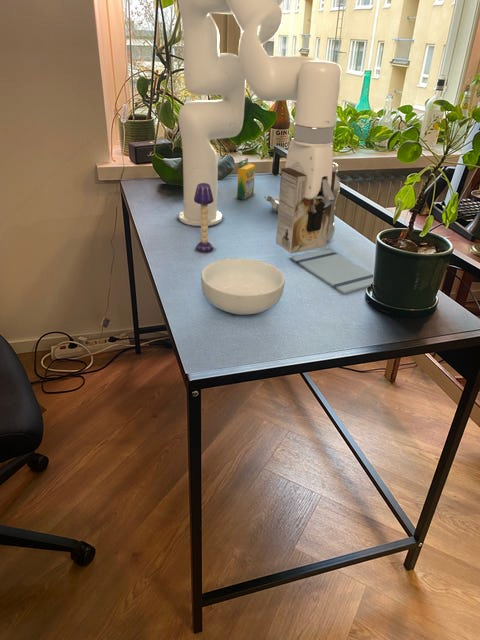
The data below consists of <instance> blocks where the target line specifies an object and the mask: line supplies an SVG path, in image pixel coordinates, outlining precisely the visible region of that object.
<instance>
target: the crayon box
mask: <svg viewBox="0 0 480 640" xmlns="http://www.w3.org/2000/svg"><path fill="white" fill-rule="evenodd" d="M244 162H245V163H244ZM255 177H256V164H253V163H249V157H246V158H244V159H243V160H240V161H238V171H237V187H236V188H237V189H236V199H239V200H246V199H248V198H249V197H251V196H252V195H254V189H255V179H256V178H255Z"/></svg>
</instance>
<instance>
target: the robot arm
mask: <svg viewBox="0 0 480 640" xmlns="http://www.w3.org/2000/svg"><path fill="white" fill-rule="evenodd" d="M284 1H285V0H177V2H178V9H179V15H180V19H181V23H182V29H183V79H184V80H183V81H184V86H185V89H186V90H187V92H188V93H190V94H191V95H195V96H220V97H221V98H220V99H213V100H212V99H208V100H207V99H206V100H193V101H188V102H186V103H184V104H183V105H182V106H181V107H180V108H179V111H178V115H177V121H178V127H179V133H180V139H181V146H182V147H181V148H182V181H183V182H182V183H183V185H182V187H183V199H182V204H183V210H181V211H180V212H179V213H178V220H179V221H180V222H181V223H183V224H184V225H185V224H186V225H188V226H193V227H201V220H202V219H201V205H200V204H198V203H196V202H195V201H194V197H195V193H196V189H197V185H198V184H200V183H207V184H209V185H210V187H211V191H212V195H213V202H212V203H210V204H208V207H207V208H208V213H207V214H208V219H207V220H208V225H207V226H208V227H210V226H215V225H217V224H219V223H221V222H222V220H223V214H222V212H220V211H219V210H218V179H219V178H218V177H219V176H218V174H219V170H218V168H219V160H218V153H217V151H216V149H215V148H214V147H213V145H212V144H211V140H218V139H230V138H234V137H237V136H239V134H240V133H241V132H242V130H243V126H244V119H245V104H246V103H245V102H246V86H247V84H248V87H249V88H250V90H251V92H253V94H254V95H255V96H256V97H257V98H258V99H260V100H262V101H266V102H275V101H278V102H279V101H295V112H294V123H293V134H292V138H291V139H290V142H289V146H288V148H287V152H286V159H285V164H284V168H291V169H294V170H296V171H298V172H300V173H302V174H305V175H306V176H307V181H306V189H305V198H306V199H310V206H311V212H309V215H308V223H307V231H309V232H311V231H316V230H320V229H321V224H322V216H323V212H325V211H326V209H327V208H328V207H329V205H330V204H331V203H332V202H333V201H334V200H335V198H334V195H333V193H332V190H331V188H330V187H331V179H332V168H333V163H334V148H333V140H334V131H335V125H336V117H337V109H338V104H339V102H338V101H339V95H340V89H341V80H342V67H341V65H340V64H339V63H337V62H333V61H330V60H329V61H327V60H319V59H317V58H315V57H311V56H302V55H301V56H300V55H299V56H297V55H296V56H295V55H269V54H268V53H267V51H266V49H265V48H264V46H263V45H265V44H266V43H268V42H269V41H271V40H272V39H273V38H274V37H275V36H276V35H277V34H278V32H279V30H280V28H281V26H282V23H283V19H284V18H283V17H284V16H283V10H282V8H281V6H282V4H283V3H284ZM212 14H221V15H233V18H234V19H235V21H236V23H237V24H238V27H239V28H240V30H241V35H240V37H239V43H238V52H237V53H238V55H237V54H234V53H229V52H220V32H219V28H218V26H217V23H216V21H215V19H214V18H213V16H212ZM319 191H321V195H320V196H317V195H318V193H319ZM316 199H320V200H319V204H317V205H316Z"/></svg>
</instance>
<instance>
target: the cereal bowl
mask: <svg viewBox="0 0 480 640" xmlns="http://www.w3.org/2000/svg"><path fill="white" fill-rule="evenodd" d="M200 281H201V282H200V284H201V285H200V286H201V290H202V293H203V295H204V296H205V298H206V300H207V301H208V302H210V304H211V305H212V306H214V307H215V308H217V309H219V310H221V311H224V312H227V313H229V314H233V315H237V316H247V315H252V314H253V315H254V314H259V313H263V312H265V311H268V310H270V309H271V308H273V307H274V306H275V305H277V303H278V302H279V301H280V299H281V297H282V296H283V294H284V288H285V281H286V278H285V275H284V274H283V272H282V271H281V270H280V269H279V268H277V266H274V265H273V264H270V263H268V262H265V261H261V260H258V259H252V258H226V259H225V258H224V259H220V260H215V261H213V262H210V263H209V264H208V265H206V266H205V267H204V268H203V269H202V271H201V276H200Z"/></svg>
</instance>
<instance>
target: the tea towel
mask: <svg viewBox="0 0 480 640" xmlns="http://www.w3.org/2000/svg"><path fill="white" fill-rule="evenodd" d="M290 260H292V261H293V262H294V263H297V264H298V265H299V266H301V267H302V268H304V269H305V270H307V272H309V273H311V274H313V276H316V277H317V278H319V279H320V280H322V281H324V282H325V283H327V285H329V286H331V287H332V288H334V289H335V290H336V291H338V292H340V293H341V294H343V295H344V294H347V293H351V292H355V291H358V290H362V289H366V288H370V287H372V286H371V284H372V281H373V275H374V273H371V272H369V271H368V270H366V269H364V268H362V267H361V266H359V265H357V264H356V263H354V262H352V261H350V260H348V259H347V258H345V257H343V256H342V255H340V254H338V253H337V252H335V251H334V250H332V249H329V248H325V249H322V250H317V251H312V252H308V253H302V254H298V255H293V256H290Z"/></svg>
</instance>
